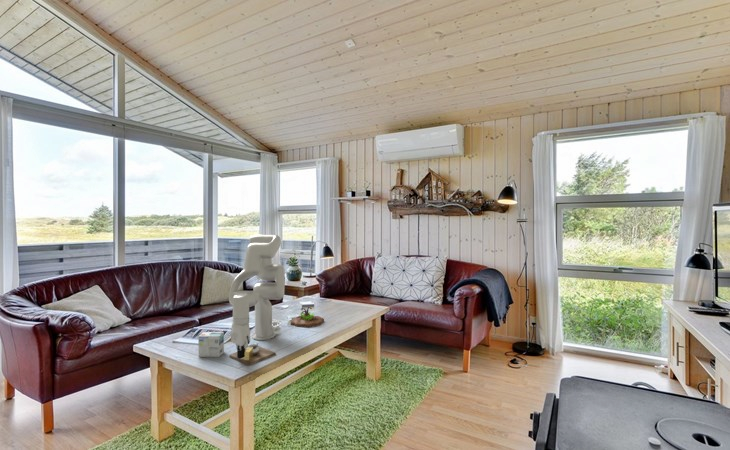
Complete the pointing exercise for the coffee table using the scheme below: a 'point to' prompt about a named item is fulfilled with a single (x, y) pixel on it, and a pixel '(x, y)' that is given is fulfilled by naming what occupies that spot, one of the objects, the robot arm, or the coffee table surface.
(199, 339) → the light bulb box
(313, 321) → the plant
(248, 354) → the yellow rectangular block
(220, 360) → the coffee table surface
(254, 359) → the wooden cheese board
